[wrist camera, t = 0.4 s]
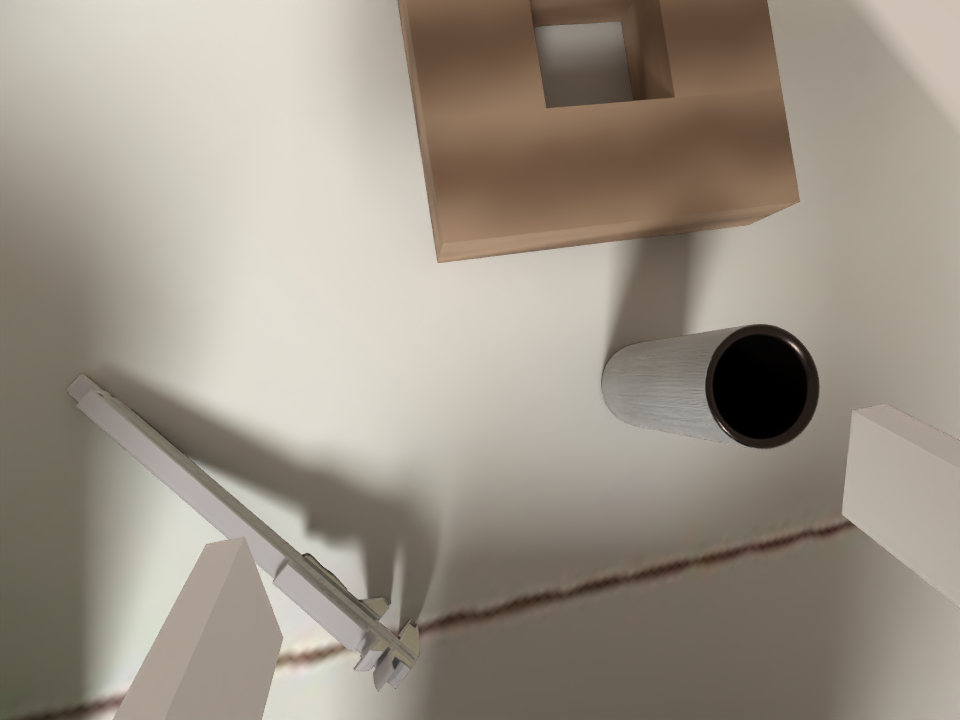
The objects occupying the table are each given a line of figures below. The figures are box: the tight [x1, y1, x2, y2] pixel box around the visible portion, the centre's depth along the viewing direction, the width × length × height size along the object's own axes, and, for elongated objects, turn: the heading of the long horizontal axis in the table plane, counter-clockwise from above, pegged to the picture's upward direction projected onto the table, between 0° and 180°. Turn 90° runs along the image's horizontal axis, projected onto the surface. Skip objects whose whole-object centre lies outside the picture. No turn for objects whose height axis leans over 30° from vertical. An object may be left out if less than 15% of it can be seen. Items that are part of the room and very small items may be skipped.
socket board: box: [398, 0, 800, 263], centre depth 28 cm, size 18×18×4 cm
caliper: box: [66, 373, 420, 692], centre depth 24 cm, size 20×1×6 cm, turn 51°
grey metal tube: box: [602, 324, 819, 449], centre depth 24 cm, size 4×4×10 cm
